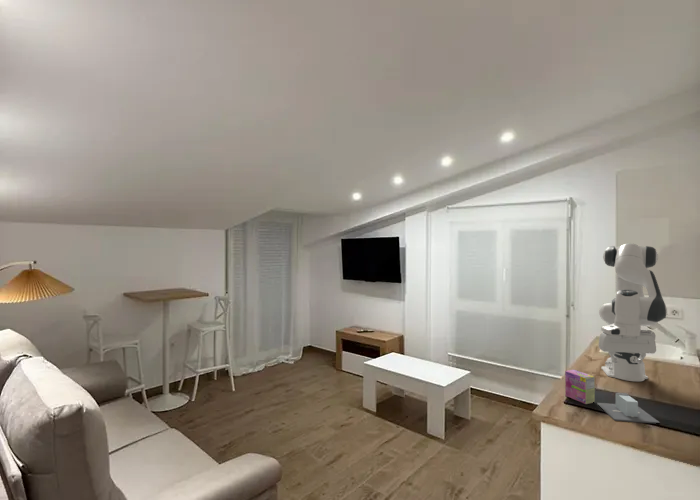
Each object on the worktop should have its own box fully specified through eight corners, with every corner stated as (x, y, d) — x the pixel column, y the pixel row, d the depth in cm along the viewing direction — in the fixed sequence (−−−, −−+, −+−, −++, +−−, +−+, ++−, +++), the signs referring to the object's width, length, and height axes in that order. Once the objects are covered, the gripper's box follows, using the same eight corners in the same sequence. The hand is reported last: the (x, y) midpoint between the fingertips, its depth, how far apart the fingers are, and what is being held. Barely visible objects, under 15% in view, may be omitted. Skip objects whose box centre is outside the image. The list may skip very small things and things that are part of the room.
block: (626, 416, 155) (626, 400, 155) (615, 406, 164) (615, 392, 164) (637, 416, 155) (638, 401, 155) (625, 407, 164) (625, 393, 164)
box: (564, 395, 178) (565, 370, 178) (573, 394, 180) (574, 369, 180) (585, 404, 168) (585, 377, 168) (594, 402, 170) (595, 376, 170)
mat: (596, 404, 169) (596, 402, 169) (636, 406, 166) (636, 405, 166) (614, 420, 153) (614, 418, 153) (659, 423, 150) (659, 422, 150)
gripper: (650, 328, 160) (650, 361, 161) (597, 327, 164) (596, 359, 164) (660, 332, 154) (659, 366, 154) (604, 330, 158) (603, 363, 158)
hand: (626, 362), depth 159 cm, fingers open, 8 cm apart
